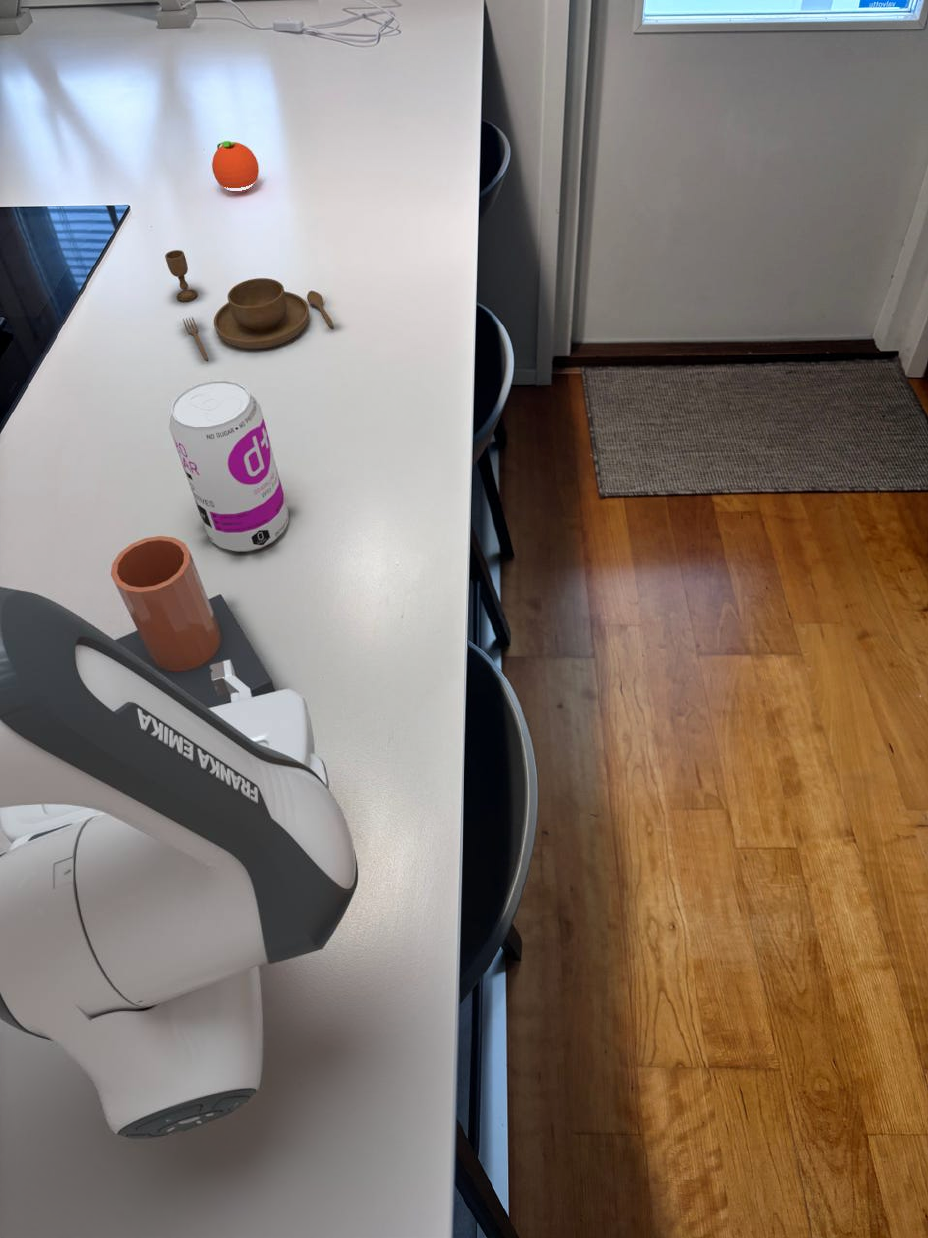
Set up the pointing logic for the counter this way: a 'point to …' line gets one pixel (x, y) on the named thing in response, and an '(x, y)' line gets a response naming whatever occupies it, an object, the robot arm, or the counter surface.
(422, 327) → the counter surface
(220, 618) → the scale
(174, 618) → the cup
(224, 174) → the clementine
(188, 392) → the supplement can
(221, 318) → the place setting
